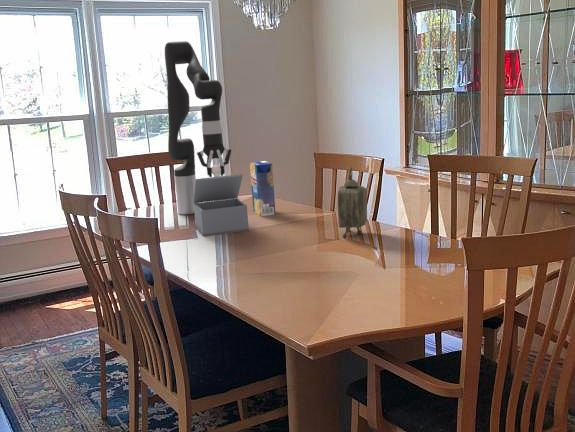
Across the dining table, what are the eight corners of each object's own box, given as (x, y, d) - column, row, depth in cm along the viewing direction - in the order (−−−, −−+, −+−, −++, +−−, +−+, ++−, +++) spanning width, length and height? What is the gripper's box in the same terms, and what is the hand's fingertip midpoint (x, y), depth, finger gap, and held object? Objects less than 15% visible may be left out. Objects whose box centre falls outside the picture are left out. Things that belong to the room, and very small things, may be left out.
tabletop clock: (343, 229, 246) (341, 164, 241) (367, 229, 244) (365, 163, 239) (339, 239, 232) (336, 170, 227) (364, 239, 230) (362, 170, 225)
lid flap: (193, 203, 262) (189, 187, 265) (237, 198, 267) (233, 182, 270) (195, 180, 248) (192, 164, 252) (242, 175, 253) (238, 159, 257)
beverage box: (268, 209, 289) (264, 160, 284) (275, 214, 279) (272, 163, 274) (253, 211, 287) (249, 162, 282) (260, 216, 277) (256, 165, 272)
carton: (196, 227, 264) (193, 203, 262) (239, 222, 269) (237, 198, 267) (203, 236, 249) (201, 210, 247) (248, 230, 254) (246, 205, 252)
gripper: (228, 130, 259) (231, 173, 262) (192, 133, 255) (196, 177, 258) (232, 131, 252) (235, 175, 255) (195, 134, 248) (200, 179, 251)
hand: (216, 175), depth 256 cm, fingers closed on lid flap, 4 cm apart
